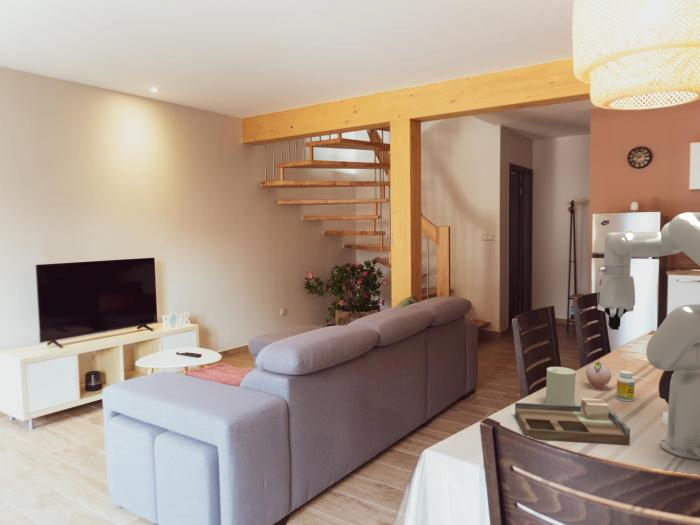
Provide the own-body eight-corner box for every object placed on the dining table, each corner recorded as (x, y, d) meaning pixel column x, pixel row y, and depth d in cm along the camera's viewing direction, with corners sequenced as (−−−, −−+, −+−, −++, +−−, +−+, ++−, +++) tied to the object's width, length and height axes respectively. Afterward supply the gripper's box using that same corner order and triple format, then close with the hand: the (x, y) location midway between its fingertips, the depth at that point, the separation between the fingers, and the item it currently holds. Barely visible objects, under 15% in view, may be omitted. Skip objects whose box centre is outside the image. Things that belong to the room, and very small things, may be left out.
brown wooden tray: (629, 444, 146) (630, 428, 146) (527, 438, 150) (527, 423, 149) (605, 420, 165) (605, 405, 165) (514, 415, 169) (515, 401, 168)
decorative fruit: (612, 393, 193) (614, 365, 192) (588, 390, 195) (589, 363, 194) (607, 385, 202) (609, 359, 201) (584, 383, 204) (585, 357, 203)
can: (539, 401, 182) (540, 366, 182) (560, 398, 186) (562, 364, 185) (558, 410, 174) (560, 373, 173) (580, 407, 177) (582, 371, 176)
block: (608, 420, 158) (609, 405, 157) (587, 419, 158) (587, 404, 158) (600, 413, 164) (601, 399, 163) (580, 412, 164) (581, 398, 164)
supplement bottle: (621, 395, 190) (623, 369, 189) (636, 400, 185) (638, 372, 184) (613, 398, 187) (614, 371, 186) (628, 402, 182) (629, 375, 182)
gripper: (595, 271, 166) (593, 330, 168) (647, 273, 165) (643, 332, 166) (588, 269, 174) (585, 326, 175) (637, 271, 172) (634, 327, 173)
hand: (614, 328), depth 170 cm, fingers closed
